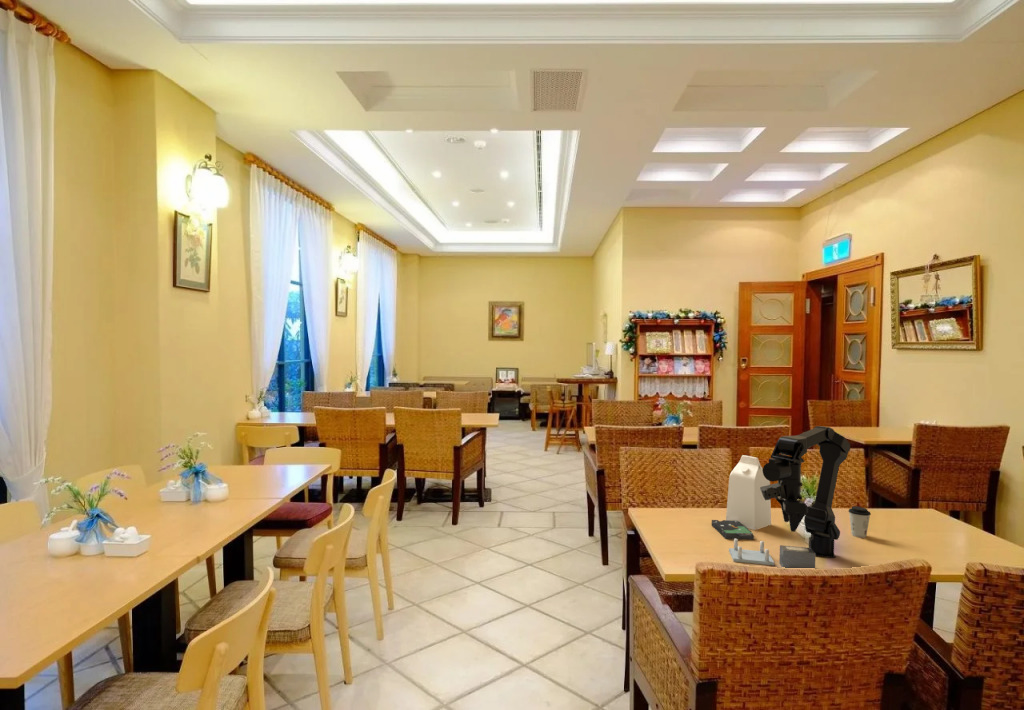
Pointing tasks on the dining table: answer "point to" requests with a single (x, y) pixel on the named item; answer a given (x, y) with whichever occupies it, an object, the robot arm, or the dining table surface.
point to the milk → (748, 495)
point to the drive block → (796, 557)
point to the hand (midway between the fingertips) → (789, 526)
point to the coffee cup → (859, 521)
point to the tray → (751, 555)
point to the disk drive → (732, 530)
